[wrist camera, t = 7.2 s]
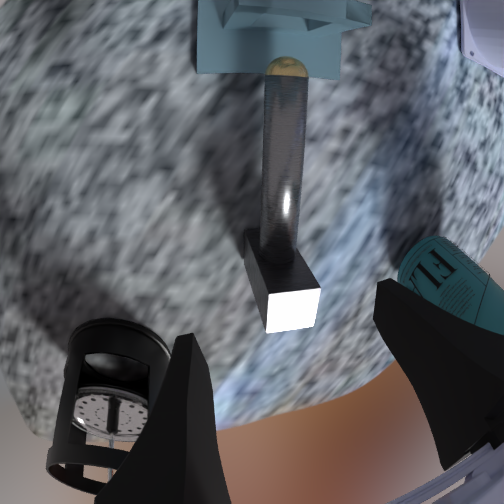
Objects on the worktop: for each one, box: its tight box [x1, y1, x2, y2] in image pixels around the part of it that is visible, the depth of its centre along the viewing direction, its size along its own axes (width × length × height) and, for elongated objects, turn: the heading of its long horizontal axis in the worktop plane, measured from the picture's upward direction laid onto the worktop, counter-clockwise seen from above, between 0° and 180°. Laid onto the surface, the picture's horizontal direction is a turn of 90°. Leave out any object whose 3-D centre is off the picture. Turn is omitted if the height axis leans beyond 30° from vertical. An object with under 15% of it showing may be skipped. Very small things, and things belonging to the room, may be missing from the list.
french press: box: [46, 319, 171, 495], centre depth 15 cm, size 12×9×23 cm
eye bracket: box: [197, 0, 372, 80], centre depth 11 cm, size 6×8×6 cm
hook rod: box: [244, 56, 321, 333], centre depth 15 cm, size 13×3×7 cm, turn 178°
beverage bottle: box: [397, 236, 504, 335], centre depth 16 cm, size 6×7×20 cm
